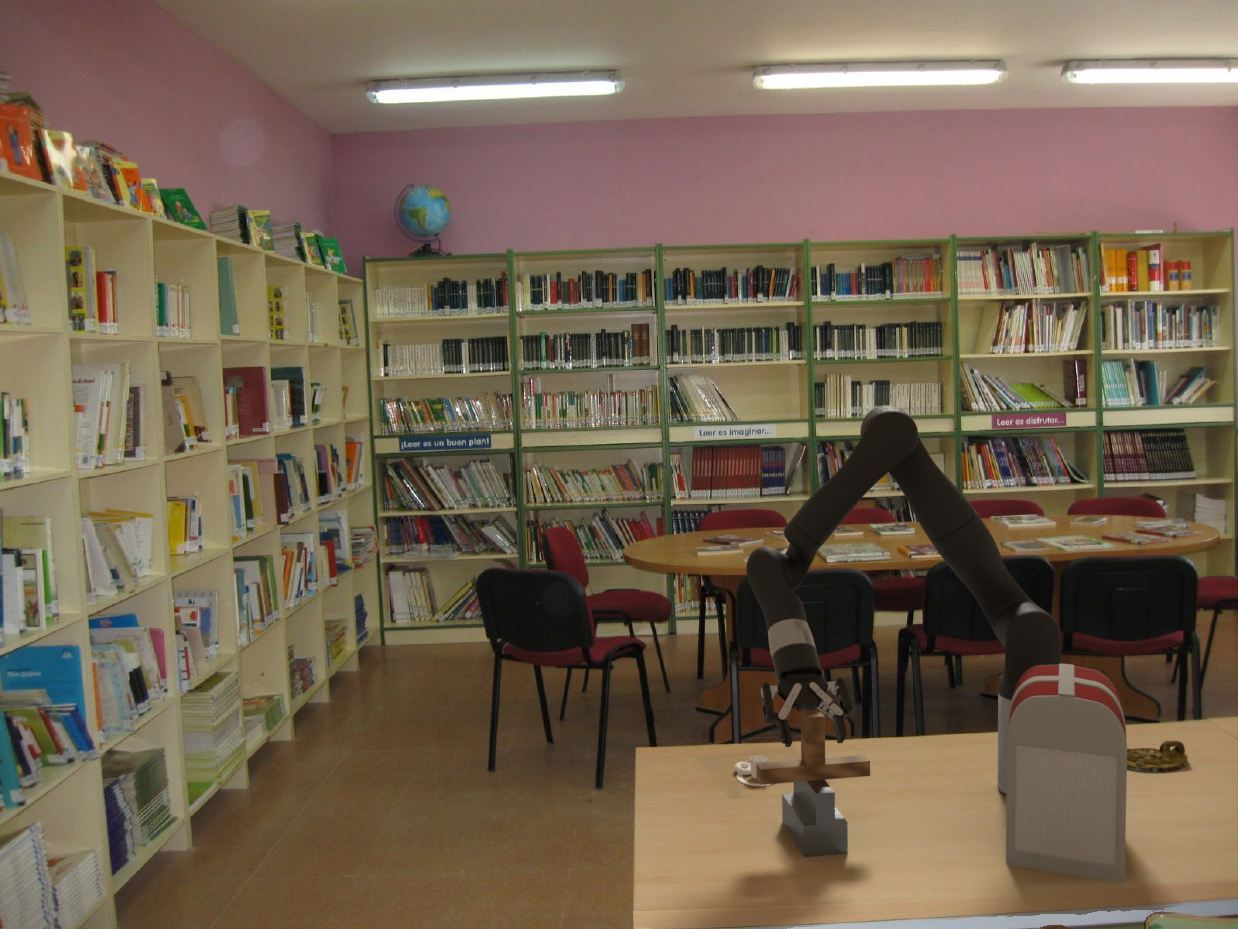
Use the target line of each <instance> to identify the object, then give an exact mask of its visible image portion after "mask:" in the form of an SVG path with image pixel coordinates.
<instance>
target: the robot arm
mask: <svg viewBox="0 0 1238 929" xmlns="http://www.w3.org/2000/svg"><path fill="white" fill-rule="evenodd" d="M861 422H862V423H861V425H860V431H859V432H860V439H859V441H858V443H857V444H856V446H855V447H854V449H853V451H852V452H851V454H850V455H849V456H848V458H847V459H846V460H845V462H844V463H843V464H842V466H840V468H839V469H838V470H837V471H836V472H835V473H834V474H833V475H832V476H831V477H830V478H829V479H828V480H827V481H825V482H824V483H823V485H822V486H820V487H819V488H818V489H817V490H816V491H815V492H814V493H813V494H812V495H811V496H810V497H809V498H808V499H807V500H806V501H805V502H804V504H803V505H802V506H801V507H800V508H799V510H798V511H797V512H796V513H795V514H794V516H793V517H792V518H791V519H790V520H789V521H788V523H787V524H786V526H785V527H784V529H783V536H784V538H785V539H786V541H787V542H788V543H789V545H788V546H787V549H786V551H785V553H783V552H781V551H779V550H778V549H775V548H773V547H770V546H759V547H757V548H756V549H753V551H752V552H751V553H750V555H748V558H747V561H746V567H745V569H746V577H747V580H748V583H749V585H750V588H751V590H752V592H753V595H754V597H755V598H756V600H757V603H758V604H759V606H760V609H761V611H762V612H763V618H764V621H765V625H766V632H767V634H768V635H767V636H768V647H769V653H770V656H771V660H772V664H773V668H774V673H775V678H776V681H777V682H776V683H777V685H770V683H769V682H764V683H763V684H762V686H761V689H760V691H759V695H760V701H761V706H762V707H761V708H762V714H763V720H764V722H765V723H766V724H770V723H772V724H775V725H776V727H777V730H778V735H779V739H780V740H779V741H780V743H781V744H782V745H784V747H785V748H791V746H792V744H793V738H792V733H791V729H790V724H789V720H788V719H787V717H788V716H789V714H790V713H791V711H792V709H794V710H795V711H796V712H801V711H811V710H819V711H820V712H821V713H822V714H823V715H827V716H828V718H830V719H831V720H832V726H833V730H834V735H835V739H836V743H837V744H843V743H844V741H845V739H846V737H848V736H847V735H848V730H847V726H846V723H845V719H847V718H849V717H850V715H851V713H852V712H853V709H854V707H853V704H852V701H851V698H850V695H849V692H848V689H847V686H846V683H845V680H844V679H843V678H842V677H838V678H836V680H834V681H833V680H832V681H827V680H826V679H825V677H824V676H823V671H822V667H821V663H820V660H819V655H818V651H817V647H816V644H815V639H814V636H813V634H812V631H811V629H810V627H809V624H808V618H807V616H806V615H807V614H806V611H805V608H804V605H803V602H802V600H801V598H800V597H799V596H798V595H797V594H796V593H794V591H795V590H796V589H798V588H799V587H800V586H801V584H802V583H803V582H804V580H805V578H806V576H807V573H808V572H809V570H810V568H811V566H812V564H813V563H814V560H815V558H816V555H817V553H818V551H819V549H820V548H821V547H822V546H823V544H825V542H826V541H827V540H828V539H830V537H831V535H832V534H833V533H834V532H835V531H836V529H838V527H839V526H840V525H841V523H842V522H843V521H844V520H845V518H847V516H848V515H849V514H850V512H851V511H853V509H854V508H855V506H856V505H857V504H858V503H859V502H860V501H861V500H862V499H863V498H864V496H865V495H866V494H867V493H868V492H869V491H870V490H871V489H872V488H873V487H874V486H875V485H876V484H877V483H878V482H879V481H881V479H882V478H884V476H886V475H887V474H888V473H889V475H890V476H891V477H892V479H894V481H895V483H896V484H897V486H898V487H899V489H900V490H901V491H902V493H903V495H904V497H905V499H906V502H907V503H908V506H909V507H910V509H911V511H912V513H913V515H914V516H915V519H916V520H917V521H918V524H919V525H920V527H921V529H922V530H923V532H924V534H925V535H926V538H928V540H929V541H930V542H931V544H932V545H933V546H934V548H935V550H936V551H937V552H938V554H939V555H940V556H941V558H942V559H943V560H944V562H945V563H946V564H947V566H948V567H949V568H950V570H952V572H953V573H954V574H955V575H956V577H957V578H958V579H959V580H960V581H961V582H962V583H963V585H965V586H966V588H967V589H968V590H969V591H970V592H971V594H972V596H973V597H974V598H975V600H976V601H977V603H978V604H979V607H980V608H981V610H982V612H983V614H984V616H985V618H986V619H987V621H988V623H989V625H990V627H991V628H992V630H993V633H994V634H995V636H996V638H997V639H998V641H999V643H1001V645H1002V646H1003V647H1004V648H1005V650H1004V651H1005V652H1004V671H1003V674H1002V675H1001V676H999V678H998V683H997V684H998V691H997V692H998V696H997V697H998V698H997V700H998V703H997V705H998V706H997V708H998V709H997V712H998V713H997V789H998V790H999V791H1000V792H1001V793H1003V794H1004V795H1006V780H1007V729H1008V715H1009V709H1010V704H1011V701H1012V698H1013V694H1014V690H1015V687H1016V685H1017V683H1018V680H1019V679H1020V677H1021V676H1022V675H1023V674H1024V673H1025V672H1026V671H1027V670H1028V669H1030V668H1032V667H1034V666H1038V665H1059V664H1062V663H1061V662H1062V661H1061V659H1062V658H1061V657H1062V634H1061V629H1060V626H1059V624H1058V622H1057V620H1056V619H1055V618H1054V616H1052V615H1051V614H1050V613H1049V612H1047V611H1045V610H1044V609H1043V608H1042V607H1040V606H1038V605H1037V604H1036V603H1035V602H1034V601H1033V600H1032V599H1031V598H1030V597H1029V596H1028V595H1027V593H1026V592H1024V590H1023V589H1022V588H1021V587H1020V586H1019V584H1018V583H1017V581H1016V580H1015V579H1014V578H1013V576H1012V575H1011V574H1010V572H1009V570H1008V569H1007V567H1006V565H1005V563H1004V561H1003V557H1002V555H1001V553H1000V550H999V548H998V546H997V543H996V540H995V539H994V537H993V535H992V533H991V531H990V530H989V528H988V527H987V525H986V524H985V522H984V520H983V519H982V518H981V516H980V515H979V513H978V511H976V509H975V508H974V507H973V505H972V504H971V503H970V502H969V500H968V499H967V497H966V496H965V495H964V494H963V493H962V491H961V490H960V489H959V488H958V487H957V486H956V485H955V483H953V482H952V481H951V480H950V478H949V477H947V475H946V474H944V472H943V471H942V470H941V469H940V468H939V467H938V465H937V464H936V463H935V461H934V460H933V458H932V456H931V455H930V454H929V452H928V450H927V448H926V446H925V445H924V443H923V442H922V440H921V438H920V436H919V431H918V426H917V424H916V422H915V420H914V419H913V417H912V416H910V414H909V413H907V411H905V410H903V409H901V408H899V407H897V406H894V405H880V406H876V407H874V408H872V409H871V410H870V411H868V412H867V413H866V415H865V416H864V418H863V419H862V421H861ZM827 691H830V692H831V694H832V695H833V696H835V697H836V700H837V703H838V705H837V704H836V703H835V702H834V699H833V698H831V696H829V694H827ZM775 694H777V695H778V696H779V697H780V699H782V700H783V701H784V704H783V705H782V707H781V710H780V711H779V712H776V711H774V704H773V699H774V698H775Z"/></svg>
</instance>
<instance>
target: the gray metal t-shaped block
mask: <svg viewBox="0 0 1238 929" xmlns="http://www.w3.org/2000/svg"><path fill="white" fill-rule="evenodd" d="M835 795H836V794H835V790H833V788H832V787H831V785H830V784H829V783H828V782H827V781H826V780H815V781H803V782H793V792H783V793H782V792H781V810H782V811H781V812H782V813H781V814H782V817H781V818H782V824H783V826H784V827H785V829H786V831H787V832H788V834H789V835H790V837H791V838H792V840H793V842H794V843H795V845H796V846H797V848H798V850H799V851H800V853H801V854H802V856H803V857H804V858H807V857H817V856H818V857H819V856H829V855H840V854H848V850H849V849H848V846H849V845H848V844H849V843H848V840H849V839H848V838H849V837H848V835H849V832H848V820H846V818H845V817H844V815H843V814H842V813H841V812H840V810H839V809H838V808H837V807H836V796H835Z"/></svg>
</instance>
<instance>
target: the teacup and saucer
mask: <svg viewBox="0 0 1238 929" xmlns="http://www.w3.org/2000/svg"><path fill="white" fill-rule="evenodd" d="M756 763H768V758H767V757H766V756H764V755H761V754H755V755H751V756H749V762H747V761H738V762H736V763H735V764H734V770H735V772H736V773H737V774H736V780H737V781H738V782H740V783H741V784H744V785H747V786H753V787H767V786H772V785H773V784H766V785H760V783H753V782H749V781H747V780H745V779H744V776H750V775H751V777H752V778H753V779H754V780H757V772H756Z"/></svg>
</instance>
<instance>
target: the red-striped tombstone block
mask: <svg viewBox="0 0 1238 929" xmlns="http://www.w3.org/2000/svg"><path fill="white" fill-rule="evenodd" d="M1125 719H1126V718H1125V715H1124V710H1123V707H1122V702H1121V698H1120V696H1119V693H1118V691H1117V689H1116V687H1115V686H1114V683H1113V682H1112V681H1111V680H1110V679H1109V677H1107V676H1106V675H1105V674H1103V673H1102V672H1100V671H1098V670H1096V669H1092V668H1087V667H1081V666H1076V665H1074V664H1071V663H1060V664H1059V665H1038V666H1034V667H1032V668H1030V669H1028V670H1027V671H1026V672H1025V673H1024V674H1023V675H1022V676H1021V677H1020V679H1019V680H1018V683H1017V685H1016V687H1015V690H1014V694H1013V698H1012V701H1011V704H1010V709H1009V715H1008V729H1007V780H1006V794H1005V795H1006V798H1005V799H1006V800H1005V801H1006V802H1005V803H1006V805H1005V809H1006V810H1005V812H1006V814H1005V815H1006V816H1005V863H1006V864H1008V865H1011V866H1018V867H1023V868H1030V869H1036V870H1042V871H1046V872H1047V871H1048V872H1054V873H1061V874H1066V875H1072V876H1077V877H1085V878H1090V879H1096V880H1101V881H1108V882H1115V883H1120V884H1121V883H1125V881H1126V880H1125V874H1126V873H1125V872H1126V834H1127V833H1126V830H1127V829H1126V828H1127V826H1126V825H1127V822H1126V820H1127V785H1128V784H1127V782H1128V781H1127V780H1128V779H1127V777H1128V774H1127V773H1128V769H1127V748H1128V742H1127V725H1126V720H1125Z"/></svg>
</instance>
